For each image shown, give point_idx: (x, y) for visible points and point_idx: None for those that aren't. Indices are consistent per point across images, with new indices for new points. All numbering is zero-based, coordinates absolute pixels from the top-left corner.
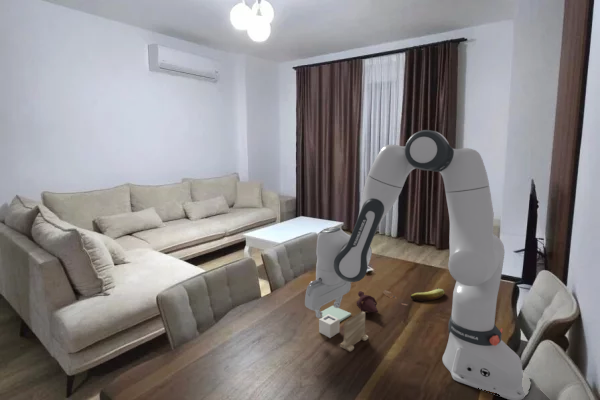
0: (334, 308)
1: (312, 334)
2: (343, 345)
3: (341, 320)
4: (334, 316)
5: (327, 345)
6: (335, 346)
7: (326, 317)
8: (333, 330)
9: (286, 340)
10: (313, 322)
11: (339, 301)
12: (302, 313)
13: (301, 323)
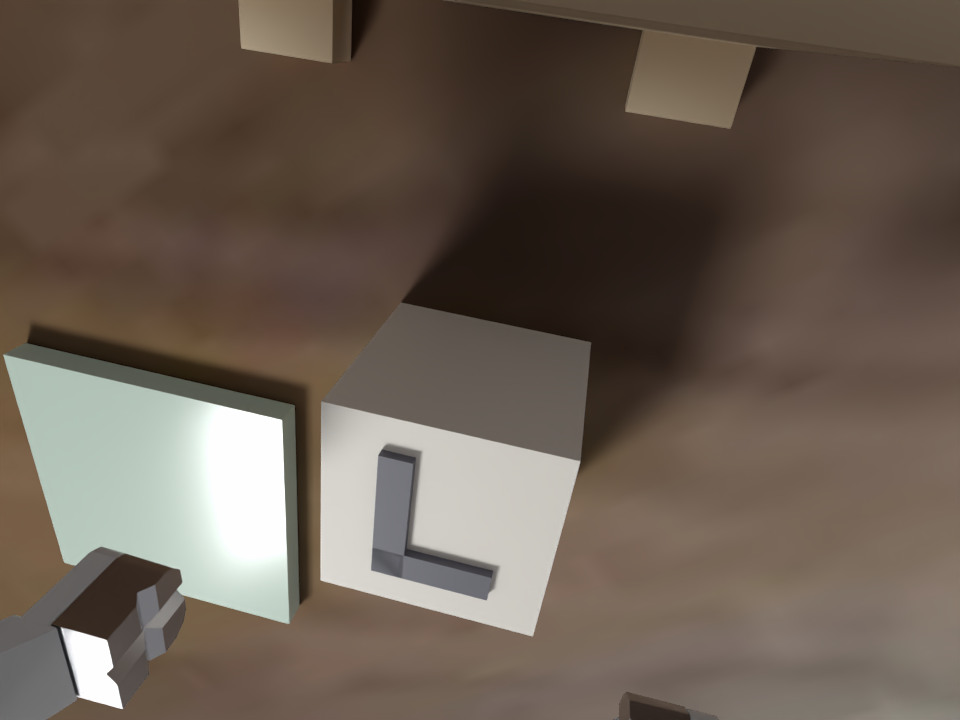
0: (88, 530)
1: (636, 531)
2: (752, 52)
3: (190, 385)
4: (200, 477)
5: (780, 295)
6: (751, 187)
7: (430, 576)
8: (510, 365)
9: (885, 689)
10: None
11: (9, 657)
12: (365, 708)
13: (514, 671)
